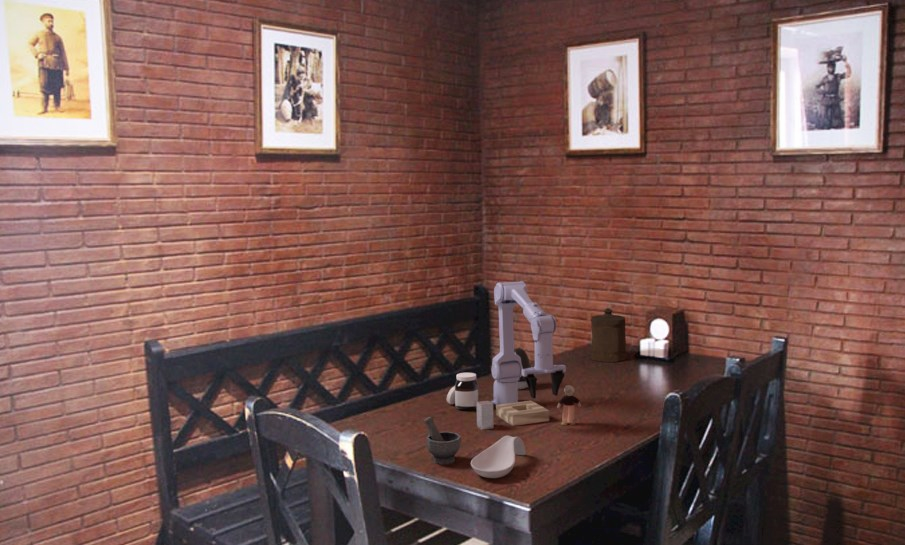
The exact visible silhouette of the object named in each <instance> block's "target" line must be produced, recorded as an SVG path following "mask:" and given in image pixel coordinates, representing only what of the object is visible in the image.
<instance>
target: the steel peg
mask: <svg viewBox="0 0 905 545" xmlns="http://www.w3.org/2000/svg"><path fill="white" fill-rule="evenodd" d="M476 427H477V428H478V429H480V430H482V431H485V430H491V429H494V404H493V403H492V402H491V401H490V400H481V401H478V402H477V408H476Z"/></svg>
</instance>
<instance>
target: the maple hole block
mask: <svg viewBox="0 0 905 545" xmlns="http://www.w3.org/2000/svg"><path fill="white" fill-rule="evenodd" d="M495 408H496V409H495V412H496V414H495V415H496V416H497V417H498V418H500V419H501V420H503V421H505V423H507V424H509V425H510V426H512V427H514V426H523V425H529V424H537V423H542V422H549V421H550V410H549V409H547V408H545V407H544V406H542V405H540V404H538V403H537V402H535V401H532V400H524V401H518V402H516V403H508V404H501V405H495Z"/></svg>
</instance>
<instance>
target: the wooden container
mask: <svg viewBox="0 0 905 545" xmlns="http://www.w3.org/2000/svg"><path fill="white" fill-rule="evenodd" d="M590 319H591V320H590V329H591V330H590V358H591V360H593V361H596V362H600V363H601V362H602V363H617V362H623V361H625V360H627V359H626V358H627V351H626V350H627V342H626V341H627V340H626V338H627V337H626V317H625V316H622V315H617V314H615V315H614V314H613V309H612V308H605V309H604V314H597V315H592V316H591V317H590Z"/></svg>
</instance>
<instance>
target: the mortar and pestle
mask: <svg viewBox="0 0 905 545" xmlns="http://www.w3.org/2000/svg"><path fill="white" fill-rule="evenodd" d="M423 424H425V425H426V429H427V431H428V433H429V434H428V435H427V436H426V437H425V443H426V448H427V450H428V452H429V453H430V454H431V455H432V456H433V458H432V462H433V461H434V462H433V463H434V464H436V463H439V464H438V465H450V464H453V463H455V461H456V454H457V453H458V452H459V449H460V448H461V443H462V435H460V434H459V433H458V432H452V431H439V429H438V427H437V425H436V424H435V421H434V418H433V417H432V416H429V417H426V418H425V419H424V420H423ZM449 463H450V464H449Z"/></svg>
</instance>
